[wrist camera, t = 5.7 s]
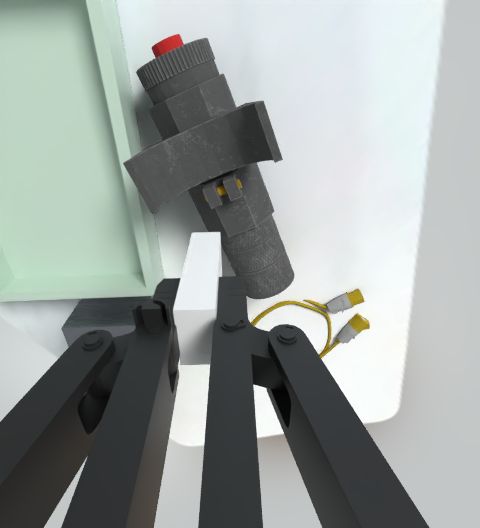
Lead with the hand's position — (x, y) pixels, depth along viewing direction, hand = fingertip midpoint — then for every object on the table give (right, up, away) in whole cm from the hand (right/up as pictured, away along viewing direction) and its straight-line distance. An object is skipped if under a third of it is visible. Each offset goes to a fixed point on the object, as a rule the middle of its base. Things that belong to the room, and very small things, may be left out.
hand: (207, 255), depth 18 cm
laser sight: (0, +8, +14) cm, 17 cm away
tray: (-16, +9, +13) cm, 22 cm away
